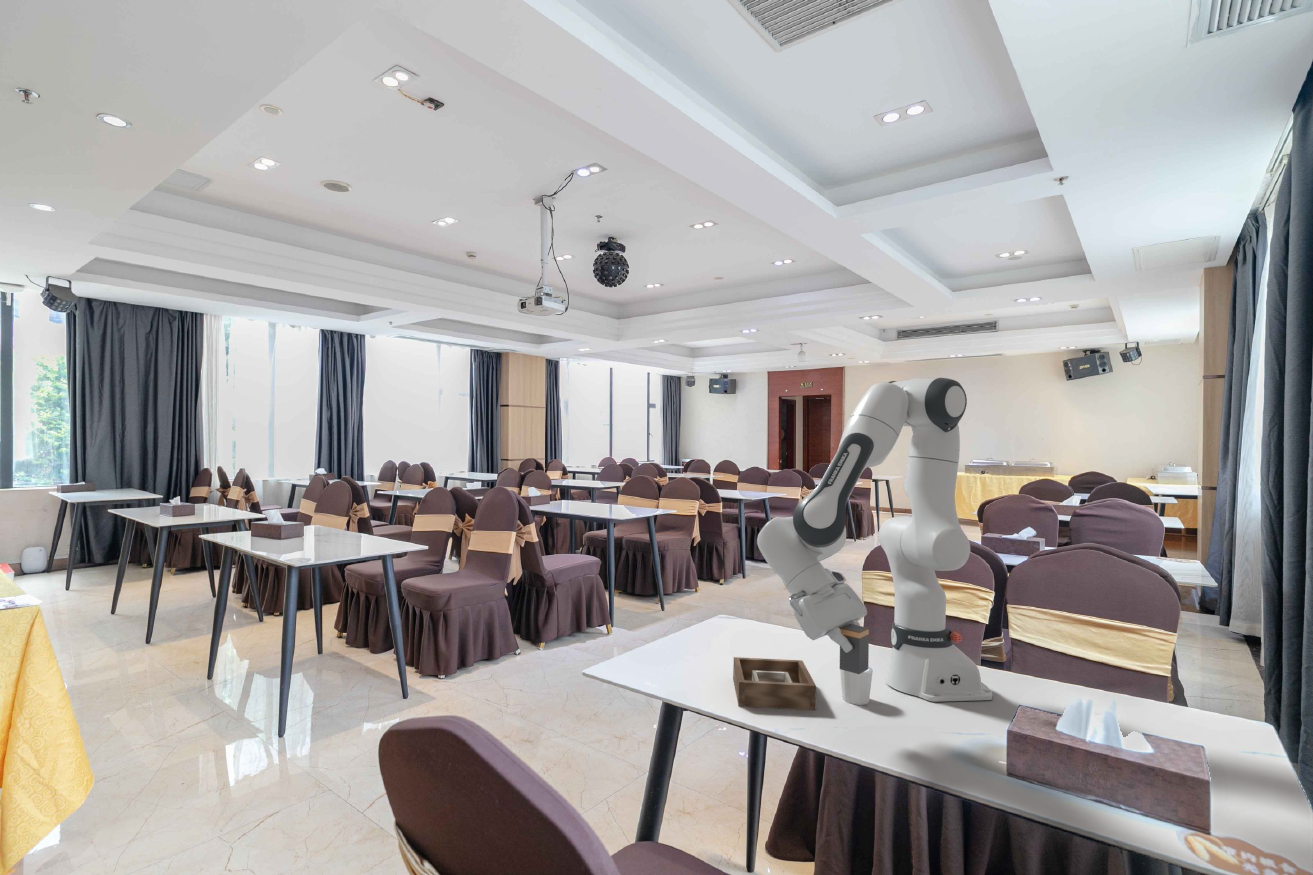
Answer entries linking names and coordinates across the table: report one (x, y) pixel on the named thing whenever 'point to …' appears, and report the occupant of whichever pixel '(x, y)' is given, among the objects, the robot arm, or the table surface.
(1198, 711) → the table surface
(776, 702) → the walnut box
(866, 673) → the white cup
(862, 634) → the dark grey banded block
